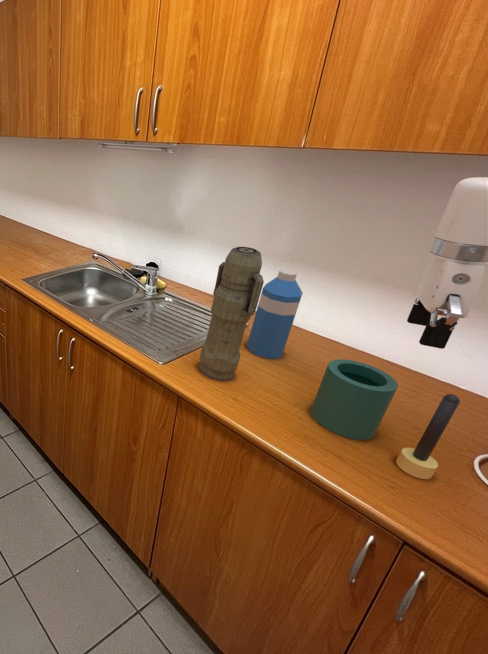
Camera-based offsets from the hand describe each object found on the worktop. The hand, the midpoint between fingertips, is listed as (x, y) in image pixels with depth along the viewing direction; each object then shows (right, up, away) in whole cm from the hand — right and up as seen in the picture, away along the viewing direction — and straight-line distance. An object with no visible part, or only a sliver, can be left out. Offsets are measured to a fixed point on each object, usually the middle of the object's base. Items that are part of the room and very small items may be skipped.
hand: (424, 334), depth 76 cm
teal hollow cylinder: (-4, -22, +14) cm, 26 cm away
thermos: (-22, -15, +32) cm, 41 cm away
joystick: (0, -27, +2) cm, 27 cm away
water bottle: (-2, -11, +41) cm, 42 cm away
